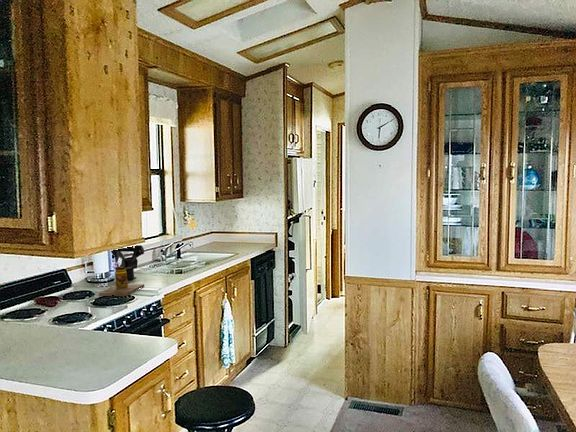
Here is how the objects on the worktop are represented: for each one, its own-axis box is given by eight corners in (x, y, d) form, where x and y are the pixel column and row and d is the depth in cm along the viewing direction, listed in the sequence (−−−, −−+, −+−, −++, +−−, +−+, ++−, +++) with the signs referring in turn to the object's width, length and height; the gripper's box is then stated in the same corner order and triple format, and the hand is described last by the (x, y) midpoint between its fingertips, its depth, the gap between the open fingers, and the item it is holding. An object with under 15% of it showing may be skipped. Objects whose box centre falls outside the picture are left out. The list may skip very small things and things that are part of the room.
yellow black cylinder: (121, 290, 272) (119, 268, 270) (110, 289, 276) (108, 267, 275) (131, 287, 278) (130, 265, 277) (120, 286, 282) (119, 265, 281)
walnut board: (118, 286, 288) (117, 284, 288) (144, 286, 285) (144, 284, 285) (98, 295, 268) (98, 293, 268) (126, 295, 266) (126, 293, 265)
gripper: (109, 232, 293) (102, 254, 283) (141, 231, 291) (134, 253, 282) (116, 243, 302) (109, 265, 292) (147, 242, 300) (141, 264, 290)
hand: (123, 262), depth 289 cm, fingers open, 9 cm apart
